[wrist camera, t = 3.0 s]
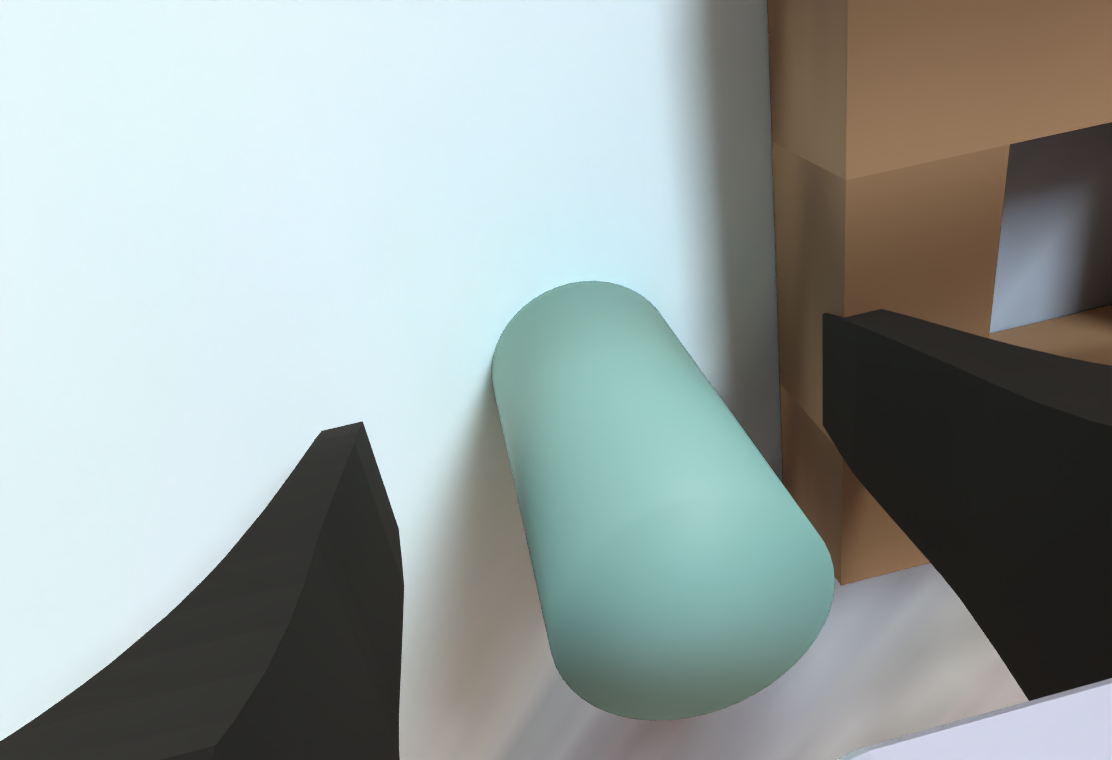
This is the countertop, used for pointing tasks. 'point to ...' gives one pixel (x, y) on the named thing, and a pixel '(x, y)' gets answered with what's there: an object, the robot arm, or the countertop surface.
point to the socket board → (909, 198)
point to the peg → (649, 513)
